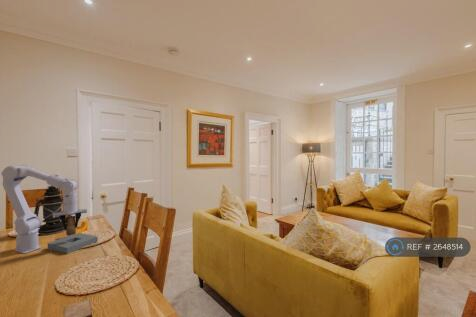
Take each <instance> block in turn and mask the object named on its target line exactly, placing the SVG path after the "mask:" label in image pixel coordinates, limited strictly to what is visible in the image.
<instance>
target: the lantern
mask: <svg viewBox="0 0 476 317" xmlns="http://www.w3.org/2000/svg"><path fill="white" fill-rule="evenodd" d="M59 190H60V189H59V188H57V187H54V186H51V185H49V186H47V188H46V189H45V191H44V192H43V193H44V194H43V195H41V196H42V197H43V198H42V199H39V198H35V201H36V203H35V208H34V212H33V213H34V214H36V216H37V217H38V218H39V214H40V213H39V212H40V206H41V205H42V219H43V220H41V223H44V224H41V226H40V227H39V230H38V233H39V234H41V235H40V236H49V235H51V236H52V235H55V234H59V233H63V232H66V230H65V229H64V225H63V223H62V221H61V220H60V218H59V217H54V218H53V213H57V212H63V210H62V207H63V193H61V190H60V191H59ZM69 216H73V215H67V217H69ZM39 234H38V235H39Z"/></svg>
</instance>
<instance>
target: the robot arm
mask: <svg viewBox="0 0 476 317" xmlns="http://www.w3.org/2000/svg"><path fill="white" fill-rule="evenodd" d="M0 174H1V177H2V187H3V188H4V191H5V193H6V196H7V198H8V201H9V203H10V205H11V207H12V209H13V212H14V214H15V215H16V216H15V217H16V219H15V220H14V221H13V222H14V225H15V226H14V231H15V233H16V234H17V236H16V237H15V242H16V244H15V247H16V249H13V251H14V252H17V253H21V254H27V253H31V252H33V251H37V250H39V249H42V248H43V247H44V246H42V245H39V244H40V243H39V234H38V230H39V229H40V228H39V227H40V226H41V225H42V222H41V221H42V220H41V219H40V218H39V216H38V217H37V216H36V214H34V212H32V211H31V209H30V206H29V205H28V202H27V200H26V198H25V196H24V193H23V191H22V188H21V186H20V184H21V182H22V181H24V180H25V179H26V178H27V177H32V178H35V179H38V180H41V181H43V182H44V181H45V182H46V184H47V185H49V186H54V187H56V188H58V190H60V191H61V192H62V197H63V203H62V207H63V210H62V212H57V213H53V218H54V217H59V218H60V221H62V223H63V225H64V229H65V230H66V216H68V215H72V216H73V215H74V216H75V228H77V227H78V225H79V221H80V219H81V216H82V214H87V213H88V208H81V209H78V203H77V202H78V200H77V189H79V188H78V187H79V182H78V181H77V180H75V179H69V178H67V177H62V176H60V174H48V173H46V172H44V171H41V170H38V169H36V168H33V167H32V166H28V165H25V164H22V165H13V166H12V165H9V166H6V167H5V168H4V169H3V170H2V171H1V173H0Z"/></svg>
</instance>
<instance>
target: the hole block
mask: <svg viewBox="0 0 476 317" xmlns="http://www.w3.org/2000/svg"><path fill="white" fill-rule="evenodd" d="M97 241H98V242H99V236H96V235H91V234H87V233H77V234H74V235H71V236H68V235H67V236H65V237H62V238H59V239H56V240H53V241H50V242H47V250H51V251H54V252H59V253H62V254H65V255H66V254H68V255H69V254H71V253H73V252H76V251H78V250H81V249H83V248H82V247H84V246H86V247H88V246H87V245H89V246H91V245H93V244H92V243H94V244H96V243H98V242H97ZM95 242H96V243H95ZM90 244H91V245H90ZM84 248H85V247H84Z"/></svg>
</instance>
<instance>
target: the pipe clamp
mask: <svg viewBox="0 0 476 317" xmlns="http://www.w3.org/2000/svg"><path fill="white" fill-rule="evenodd" d="M85 231H86V232H88V231H89V221H88V220H82V221H81V223H80V226H77V228H76V233H75V234H77V233H82V232H84V233H86V232H85ZM82 234H83V233H82ZM73 235H74V234H73ZM68 236H71V235H67V237H68Z"/></svg>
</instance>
